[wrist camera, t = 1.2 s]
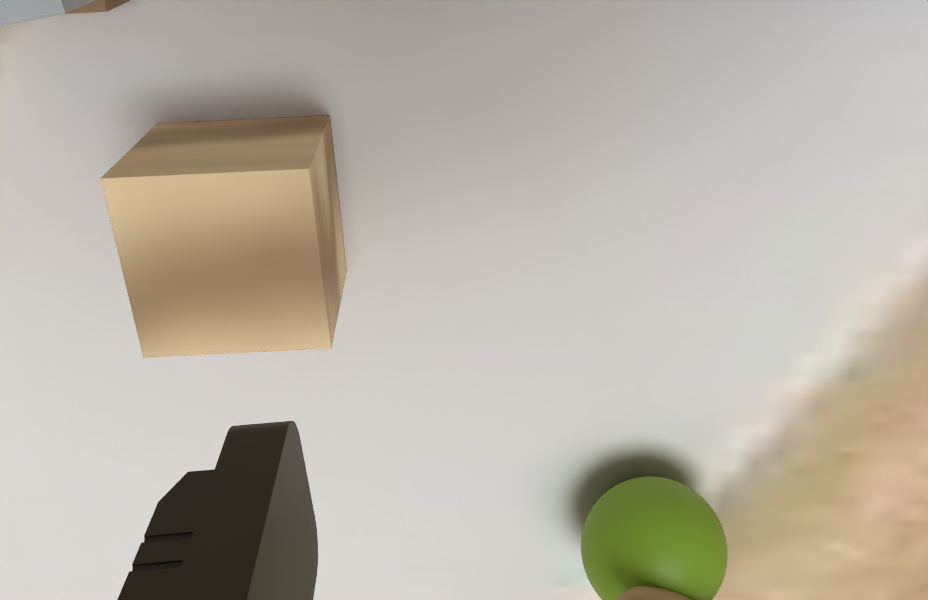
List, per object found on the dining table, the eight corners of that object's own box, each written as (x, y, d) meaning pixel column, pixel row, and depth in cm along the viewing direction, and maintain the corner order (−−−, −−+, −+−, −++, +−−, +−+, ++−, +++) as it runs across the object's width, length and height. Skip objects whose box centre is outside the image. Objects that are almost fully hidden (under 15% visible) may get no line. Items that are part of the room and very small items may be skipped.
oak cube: (158, 122, 28) (100, 178, 23) (330, 114, 28) (309, 168, 23) (189, 277, 30) (143, 358, 25) (347, 269, 30) (331, 348, 25)
